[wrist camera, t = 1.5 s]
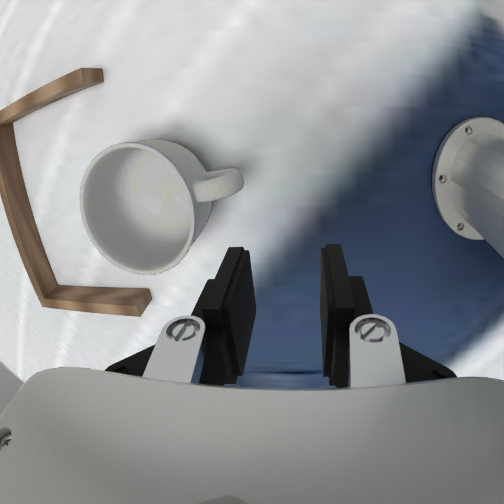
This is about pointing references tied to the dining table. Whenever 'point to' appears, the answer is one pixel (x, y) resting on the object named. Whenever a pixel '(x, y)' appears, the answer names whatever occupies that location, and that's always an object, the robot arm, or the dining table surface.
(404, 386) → the robot arm
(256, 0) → the dining table surface
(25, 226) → the walnut bay
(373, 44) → the dining table surface
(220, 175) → the teacup
